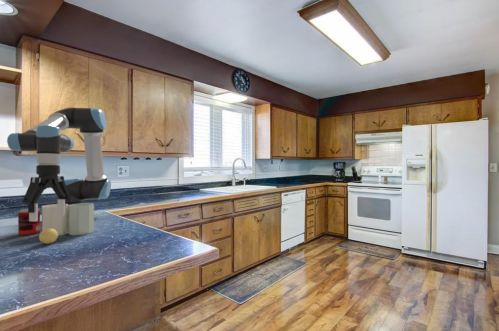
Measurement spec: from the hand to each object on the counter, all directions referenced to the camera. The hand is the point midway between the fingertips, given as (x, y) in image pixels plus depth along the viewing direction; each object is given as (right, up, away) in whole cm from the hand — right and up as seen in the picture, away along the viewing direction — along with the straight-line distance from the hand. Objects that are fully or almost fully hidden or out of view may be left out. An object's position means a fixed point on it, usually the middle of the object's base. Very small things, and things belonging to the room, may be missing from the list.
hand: (48, 217), depth 106 cm
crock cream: (-8, -10, +15) cm, 20 cm away
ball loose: (0, -7, 0) cm, 7 cm away
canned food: (-20, -11, +15) cm, 28 cm away
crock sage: (+2, -10, +17) cm, 20 cm away
